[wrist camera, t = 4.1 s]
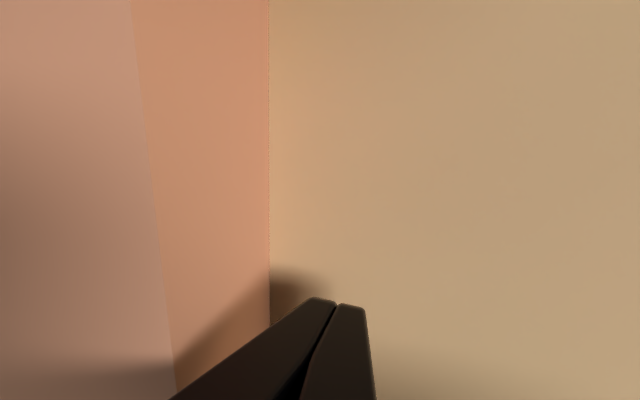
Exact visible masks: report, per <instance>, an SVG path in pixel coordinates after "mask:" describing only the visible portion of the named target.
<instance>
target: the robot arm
mask: <svg viewBox="0 0 640 400" xmlns="http://www.w3.org/2000/svg"><path fill="white" fill-rule="evenodd" d="M168 400H377V398H376V390H375V383H374V375H373V367H372V360H371V352H370V344H369V337H368V329H367V321H366V314H365V310H364V309H363V308H361V307H357V306H353V305H348V304H344V303H341V304H339V305H338V306H337V304H336V303H335V302H334V301H330V300H326V299H321V298H317V297H312V298H309V299H307V300H306V301H305V302H303V303H302V304H300V305H299V306H298V307H296V308H295V309H293V310H292V311H291V312H289V313H288V314H286V315H285V316H284V317H282V318H281V319H279V320H278V321H277V322H275V323H274V324H273V325H271V326H270V327H268V328H267V329H266V330H264V331H263V332H261V333H260V334H259V335H257V336H256V337H254V338H253V339H252V340H250V341H249V342H247V343H246V344H245V345H243V346H242V347H240V348H239V349H238V350H236V351H235V352H233V353H232V354H231V355H229V356H228V357H226V358H225V359H224V360H222V361H221V362H219V363H218V364H217V365H215V366H214V367H212V368H211V369H210V370H208V371H207V372H206V373H204V374H203V375H201V376H200V377H199V378H197V379H196V380H194V381H193V382H192V383H190V384H189V385H187V386H186V387H185V388H183V389H182V390H180V391H179V392H178V393H176V394H175V395H173V396H172V397H171V398H169V399H168Z"/></svg>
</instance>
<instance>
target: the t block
mask: <svg viewBox="0 0 640 400" xmlns="http://www.w3.org/2000/svg"><path fill="white" fill-rule="evenodd" d="M268 327H270V268H269V0H0V400H168V399H169V398H171V397H172V396H173V395H175V394H176V393H178V392H179V391H180V390H182V389H183V388H185V387H186V386H187V385H189V384H190V383H192V382H193V381H194V380H196V379H197V378H199V377H200V376H201V375H203V374H204V373H206V372H207V371H208V370H210V369H211V368H212V367H214V366H215V365H217V364H218V363H219V362H221V361H222V360H224V359H225V358H226V357H228V356H229V355H231V354H232V353H233V352H235V351H236V350H238V349H239V348H240V347H242V346H243V345H245V344H246V343H247V342H249V341H250V340H252V339H253V338H254V337H256V336H257V335H259V334H260V333H261V332H263V331H264V330H266V329H267V328H268Z"/></svg>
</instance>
